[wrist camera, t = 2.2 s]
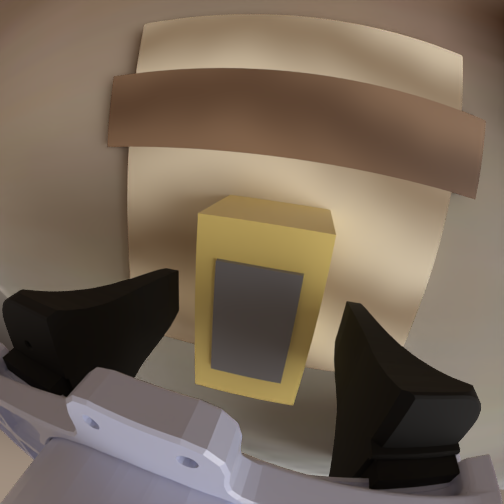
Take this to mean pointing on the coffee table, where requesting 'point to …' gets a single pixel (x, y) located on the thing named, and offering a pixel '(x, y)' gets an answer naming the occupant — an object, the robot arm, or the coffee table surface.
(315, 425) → the coffee table surface
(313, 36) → the subfloor
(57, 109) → the coffee table surface
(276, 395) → the stud finder
